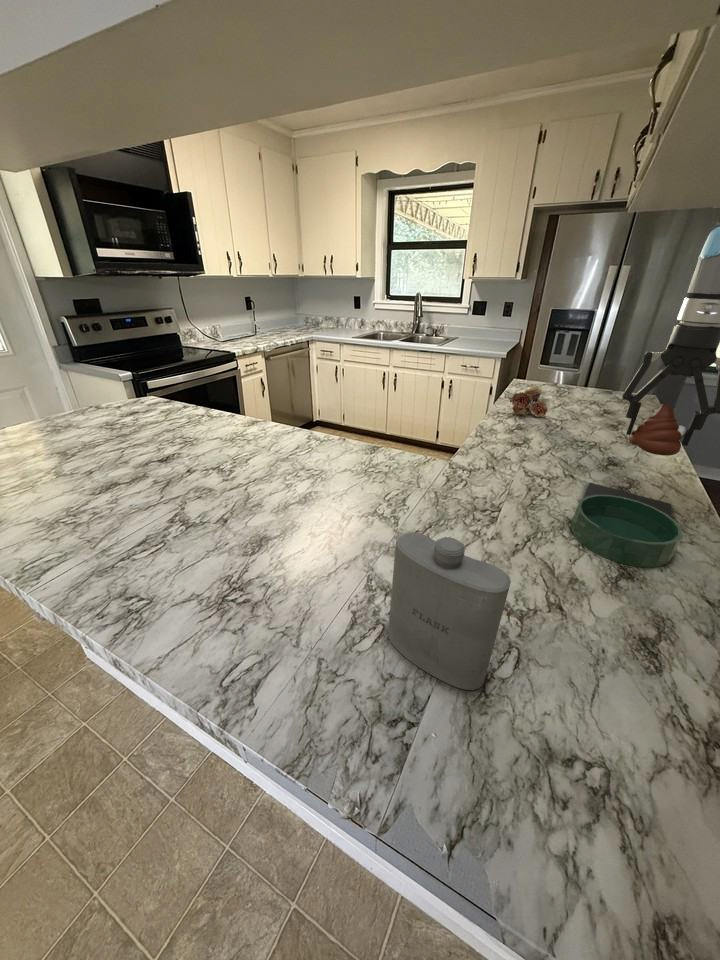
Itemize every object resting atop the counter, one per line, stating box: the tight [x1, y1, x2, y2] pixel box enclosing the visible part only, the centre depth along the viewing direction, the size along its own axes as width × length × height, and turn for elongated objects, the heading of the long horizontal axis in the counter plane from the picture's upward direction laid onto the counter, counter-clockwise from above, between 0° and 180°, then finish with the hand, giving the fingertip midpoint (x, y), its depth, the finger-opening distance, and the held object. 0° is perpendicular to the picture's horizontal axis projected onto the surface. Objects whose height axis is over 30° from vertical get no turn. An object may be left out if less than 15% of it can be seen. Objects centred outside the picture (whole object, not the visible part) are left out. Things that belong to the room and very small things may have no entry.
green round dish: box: [570, 495, 684, 569], centre depth 82 cm, size 18×18×6 cm
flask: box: [387, 531, 512, 691], centre depth 52 cm, size 15×6×20 cm, turn 52°
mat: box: [582, 482, 672, 518], centre depth 97 cm, size 18×12×1 cm, turn 55°
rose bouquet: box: [508, 386, 548, 418], centre depth 156 cm, size 13×16×15 cm
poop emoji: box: [628, 403, 687, 456], centre depth 82 cm, size 10×8×9 cm
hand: (655, 438), depth 83 cm, fingers closed on poop emoji, 9 cm apart
